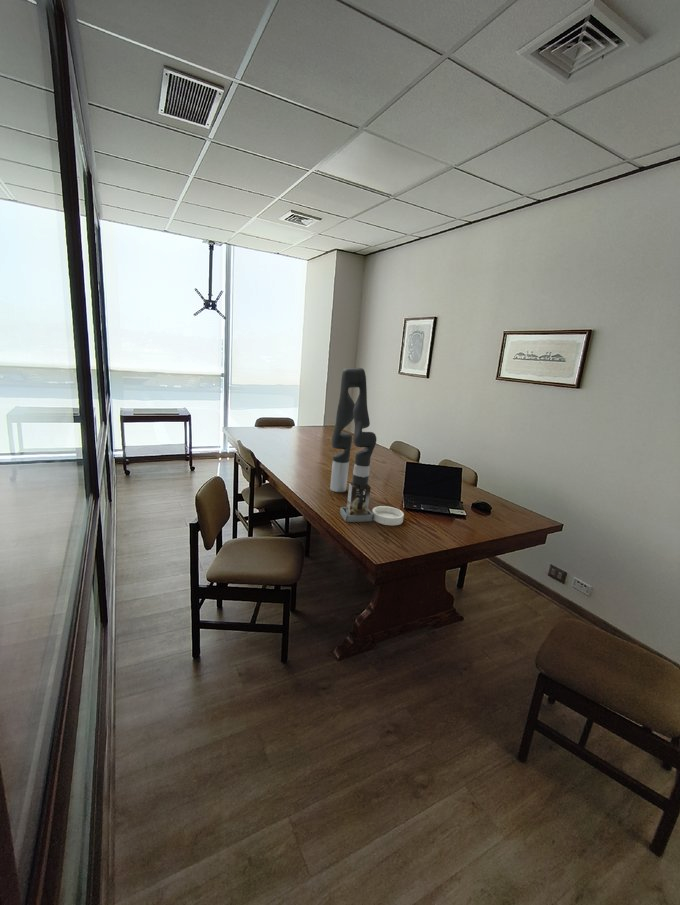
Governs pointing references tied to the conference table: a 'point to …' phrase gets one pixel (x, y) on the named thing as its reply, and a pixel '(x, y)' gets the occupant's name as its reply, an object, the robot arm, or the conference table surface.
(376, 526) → the conference table surface
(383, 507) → the bowl
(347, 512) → the coffee box
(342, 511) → the grey rectangular frame
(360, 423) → the robot arm
